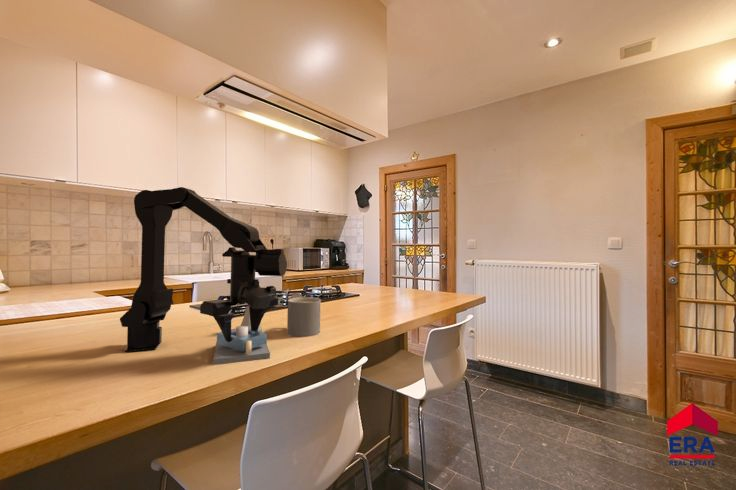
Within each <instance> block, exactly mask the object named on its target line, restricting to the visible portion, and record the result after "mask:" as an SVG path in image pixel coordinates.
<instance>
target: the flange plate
mask: <svg viewBox="0 0 736 490" xmlns="http://www.w3.org/2000/svg"><path fill="white" fill-rule="evenodd" d="M267 338H268V333H267V332H264V331H262V332H259V331H255V330H251V329H248V335H245V336H241V337H238V336H236V328H231V339H230V342H227V341H226V340H225V338H224V335H223V333H222V331H219V332H217V333H216V342H217V344H220V345H223V346H227V347H230V348H233V349H237V350H240V351H245V350H246V341H252V343H251V348H255V347H258V346H261V345H264V344H267V343H268V340H267ZM267 345H268V344H267Z"/></svg>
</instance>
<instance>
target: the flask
mask: <svg viewBox="0 0 736 490" xmlns="http://www.w3.org/2000/svg"><path fill="white" fill-rule="evenodd" d="M244 312H245V313H244V315H243V317H242V321H241V323H240V326H248V329H251V323H250V312H249V306H246V307H245V311H244ZM258 331H259V332H263V327H262V324H261V323H260V325H259V328H258Z"/></svg>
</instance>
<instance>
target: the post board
mask: <svg viewBox="0 0 736 490" xmlns="http://www.w3.org/2000/svg"><path fill="white" fill-rule="evenodd" d="M235 327H236V328H235V329H236V336H238V337H241V336H245V335H248V326H241V325H239V326H235ZM251 343H252V341H246V350H245V351H240V350H237V349H233V348H230V347H227V346H223V345H220V344H217V341H216V343H215V348H214V354H213V365H220V364H230V363H239V362H240V363H241V362H247V361H255V360H265V359H270V358H271V353H270V349H269V347H268V344H264V345H261V346H258V347H255V348H251Z"/></svg>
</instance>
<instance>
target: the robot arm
mask: <svg viewBox="0 0 736 490" xmlns="http://www.w3.org/2000/svg"><path fill="white" fill-rule="evenodd" d="M133 205H134V207H133V208H134V212H135V213H134V214H135V216H136V217H137V219H138V222H139V223H140V225H141V254H140V255H141V256H140V283H139V286H138V287H137V288H136V290H135V292H133V296H132V301H131V305H130V308H129V309H128V310H127V311H126V312H125V313H124V314H123V315H122V316H121V317H120V318H119V322H120V324H121V327H123V328H127V330H126V332H127V335H126V337H127V339H126V340H127V341H126V343H127V344H126V348H125V349H124V353H129V352H140V351H141V352H142V351H151V350H157V348H158V347H159V345H161V343H162V342H163V341H162V340H163V339H162V337H163V334H162V333H163V328H162V326H160V321H164V320H165V318H166V315H167V313H168V312H169V311H170V310H171V307H172V305H173V304H174V301H173V295H174V290H173V288H168V287H167V285H166V284H165V251H166V250H165V249H166V248H165V247H166V246H165V244H166V242H165V240H166V227H167V225H168V224H169V222H170V220H171V218H172V216H173V213H174V211H176V210H180V209H183V208H184V207H185V208H186V209H188V210H190V211H191V212H193V213H194V214H196V215H197V216H199V217H200V218H201V219H203V220H204V221H206V222H207V223H209V224H210V225H211V226H213V227H214V228H216V229H217V230H218V231H219V233H220V235H221V236H222V238H223V239H225V241H226V242H227V243H228V244H229V245H230V246H229V247H228V249H227V250H226V251H225V252H223V253H222V254H221V256H222V257H223V258H225V257H226V258H229V257H230V278H228V279H226V284H229V286H230V289H229V294H230V295H226V300H225V299H224V300H223V299H218V298H217V299H211V300H210V299H209V300H208V299H207V300H204V301H202V303H201V304H200V307H199V308H200V310H199V313H200V314H202V315H207V316H210V317H213V319H214V320H215V322H216V324H217V325H218V327H219V329H220V332H222V333H223V335H224V338H225V340H226V341H227V342H230V339H231V330H232V320H233V318H234V317H235V314H234V313H231V311H232V310H231V309H233V310H234V309H238V308H244V307H245V308H246V306H249V312H250V323H251V330H255V331H258V328H259V325H260V324H261V323H262V319H263V318H264V316H265V314H266V313H267V312H269V310H272V307H275V306H278V305H279V297H278V295H277V287H275V286H274V285H268V286H266V287H265V286H264V287H261V286H260V280H259V279H257V278H256V273H257V274H258V275H259V276H261V277H262V276H263V277H264V276H265V277H284V276H285V275H286V273H287V268H288V262H287V258H286V255H285V249H284V248H274V249H272V248H271V249H269V248H267V247H266V245H265V244H264V243H263V241H262V240H261V238H260V232H259V230H258V229H257V227H255V226H252V225H250V224H249V223H246V222H244V221H241V220H238V219H236V218H233V217H231V216H230V215H228V214H226V213H225V212H223V210H221V209H220V208H218V207H216V206H215V205H213V203H211V202H209V201H208V200H206V199H205V198H204V197H202V196H201V195H199V194H198V193H197V192H196V191H195V190H194V189H191V188H187V187H184V186H183V187H182V186H180V187H179V186H178V187H174V188H168V189H159V190H158V189H157V190H156V189H155V190H149V189H143V190H141V191H139V192H138V193H137V194H135V196H134V199H133ZM237 249H241V250H237ZM251 253H255V254H251Z"/></svg>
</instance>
